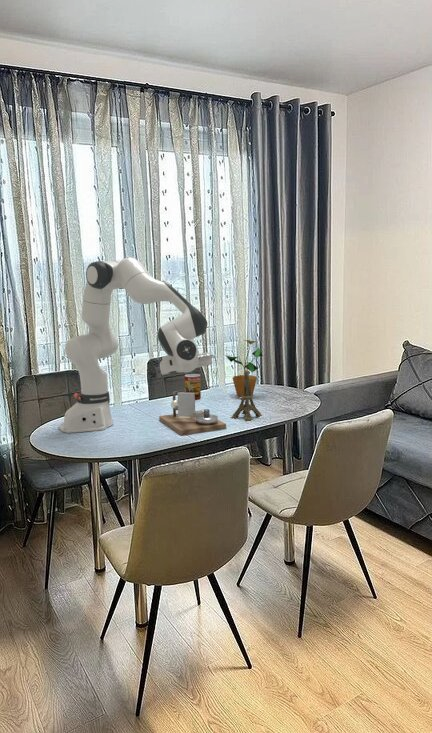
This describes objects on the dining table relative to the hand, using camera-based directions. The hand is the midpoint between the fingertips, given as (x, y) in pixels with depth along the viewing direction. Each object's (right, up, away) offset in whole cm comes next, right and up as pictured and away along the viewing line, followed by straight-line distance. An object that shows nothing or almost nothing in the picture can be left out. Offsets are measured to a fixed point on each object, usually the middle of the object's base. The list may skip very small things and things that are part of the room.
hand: (186, 368), depth 225 cm
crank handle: (+3, -22, +12) cm, 25 cm away
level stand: (+2, -24, +16) cm, 29 cm away
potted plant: (+27, -15, +65) cm, 72 cm away
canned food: (0, -16, +62) cm, 64 cm away
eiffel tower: (+25, -22, +26) cm, 43 cm away
